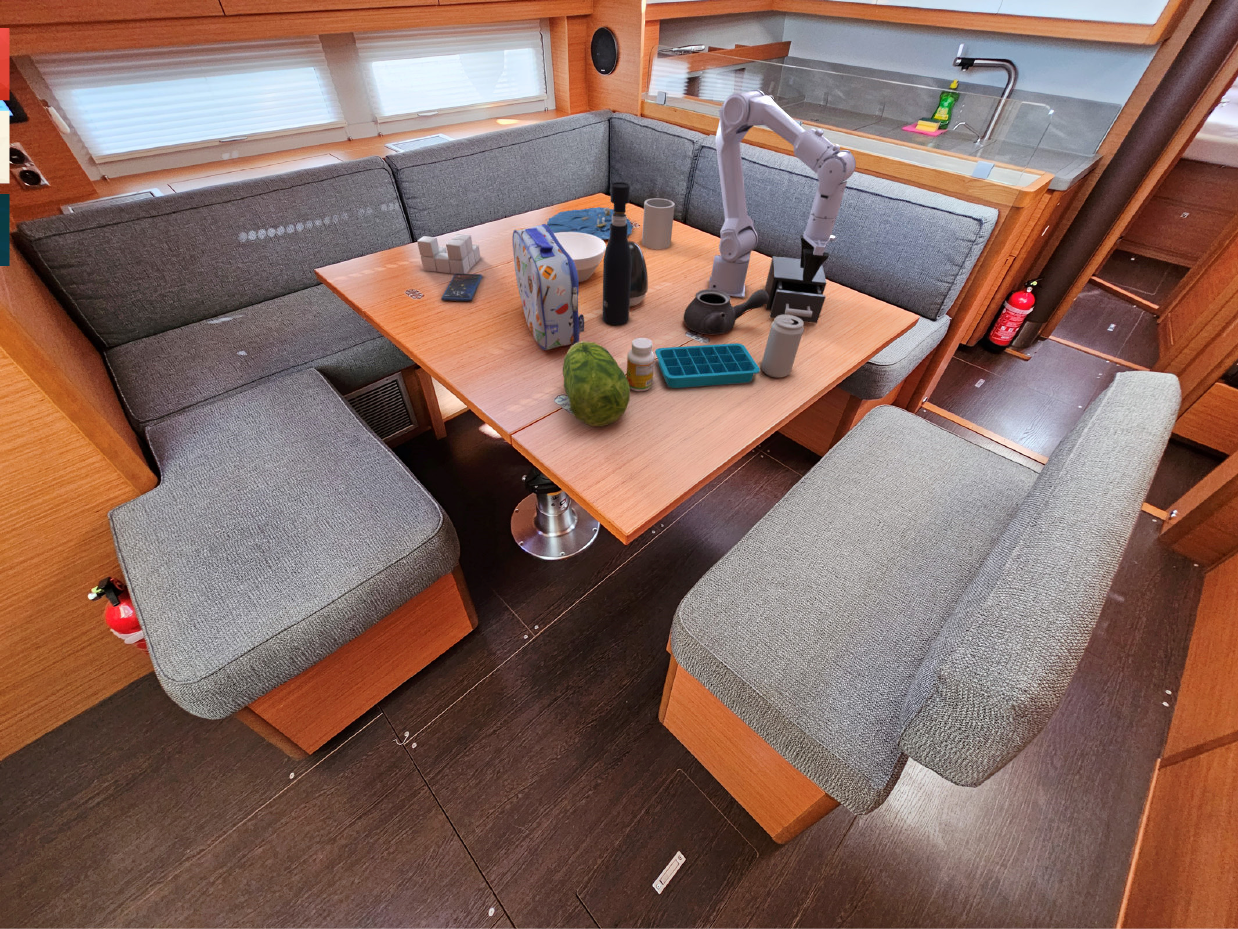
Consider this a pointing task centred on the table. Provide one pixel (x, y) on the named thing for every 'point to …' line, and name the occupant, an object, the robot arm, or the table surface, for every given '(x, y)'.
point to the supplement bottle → (640, 365)
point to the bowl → (583, 251)
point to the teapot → (718, 311)
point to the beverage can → (782, 345)
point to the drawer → (797, 301)
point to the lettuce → (594, 384)
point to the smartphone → (462, 287)
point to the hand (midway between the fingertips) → (805, 274)
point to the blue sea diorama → (585, 222)
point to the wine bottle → (617, 261)
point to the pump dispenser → (637, 275)
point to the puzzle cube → (449, 254)
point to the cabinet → (789, 275)
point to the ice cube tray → (706, 365)
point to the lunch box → (547, 287)
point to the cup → (657, 223)
